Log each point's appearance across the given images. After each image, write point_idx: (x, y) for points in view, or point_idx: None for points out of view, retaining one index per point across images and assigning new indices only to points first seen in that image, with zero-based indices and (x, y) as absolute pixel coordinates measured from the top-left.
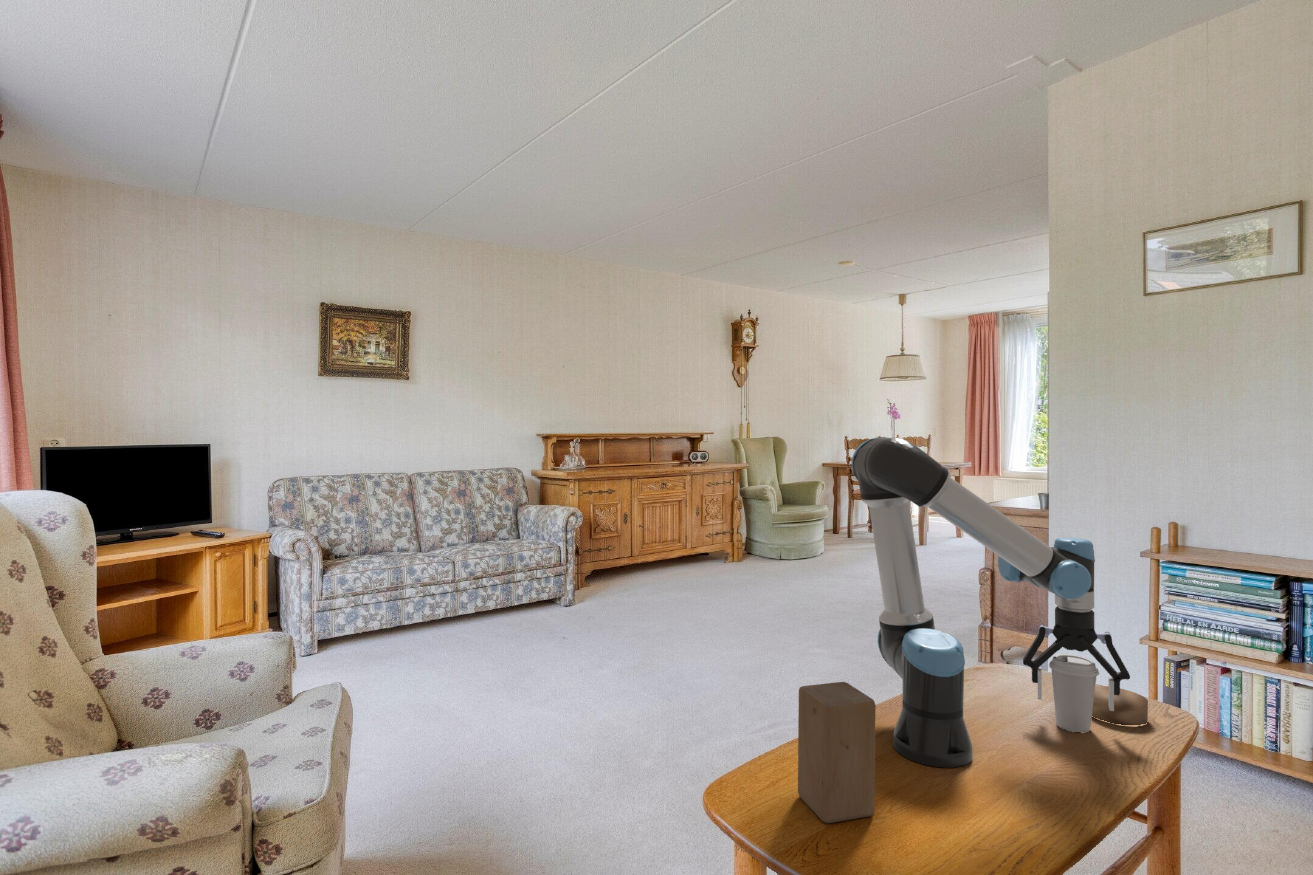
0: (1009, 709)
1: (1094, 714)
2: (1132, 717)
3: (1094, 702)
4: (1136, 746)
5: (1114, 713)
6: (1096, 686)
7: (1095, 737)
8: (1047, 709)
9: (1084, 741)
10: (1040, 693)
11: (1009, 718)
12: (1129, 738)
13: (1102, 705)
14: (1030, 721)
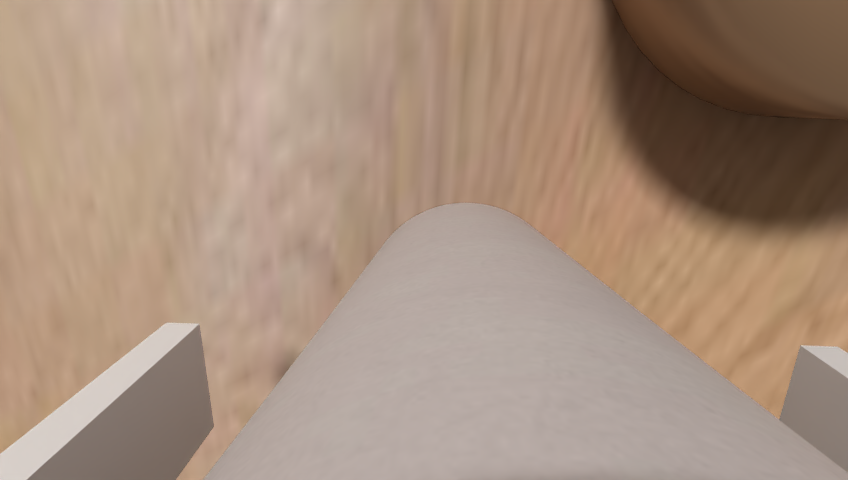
0: (75, 177)
1: (648, 39)
2: None
3: (705, 16)
4: None
5: (819, 115)
6: None
7: None
8: (309, 24)
9: None
10: (173, 467)
11: (112, 338)
12: (772, 321)
13: (763, 80)
14: (226, 327)
